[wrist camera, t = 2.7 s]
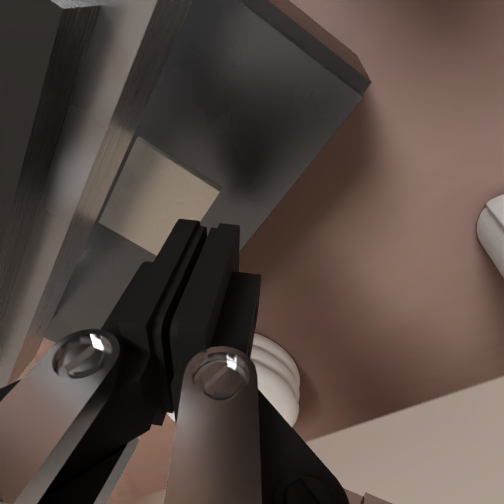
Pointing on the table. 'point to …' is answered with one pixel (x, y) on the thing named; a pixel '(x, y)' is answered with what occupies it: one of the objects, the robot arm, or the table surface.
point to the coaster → (275, 377)
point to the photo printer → (493, 231)
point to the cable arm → (65, 140)
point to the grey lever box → (215, 140)
